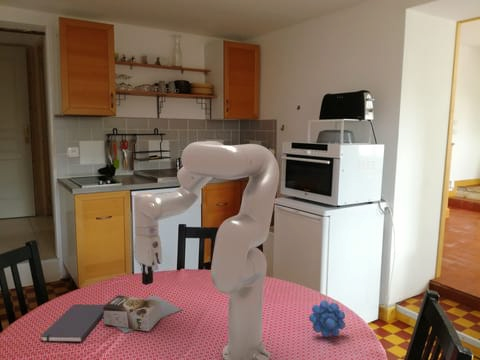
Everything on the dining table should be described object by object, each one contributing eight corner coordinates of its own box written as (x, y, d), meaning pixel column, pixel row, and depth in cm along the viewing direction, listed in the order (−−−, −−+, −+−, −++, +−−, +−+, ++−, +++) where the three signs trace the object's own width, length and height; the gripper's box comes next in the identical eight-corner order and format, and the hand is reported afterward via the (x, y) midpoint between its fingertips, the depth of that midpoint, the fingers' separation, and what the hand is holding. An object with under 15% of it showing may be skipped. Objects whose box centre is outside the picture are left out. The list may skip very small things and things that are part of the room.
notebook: (81, 342, 118) (109, 308, 139) (81, 337, 117) (108, 304, 138) (40, 341, 118) (73, 308, 139) (39, 336, 118) (73, 304, 139)
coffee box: (148, 312, 123) (102, 306, 127) (149, 332, 124) (103, 325, 128) (161, 299, 132) (117, 294, 135) (161, 318, 133) (118, 311, 136)
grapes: (312, 345, 119) (314, 307, 117) (306, 333, 125) (307, 297, 123) (349, 343, 120) (352, 306, 118) (341, 332, 126) (343, 296, 125)
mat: (181, 310, 139) (181, 309, 139) (125, 333, 123) (125, 332, 123) (155, 296, 150) (155, 295, 150) (100, 316, 134) (100, 314, 134)
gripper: (169, 232, 127) (170, 286, 130) (143, 223, 137) (144, 274, 140) (149, 237, 122) (150, 293, 124) (124, 227, 132) (125, 280, 135)
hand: (147, 283), depth 132 cm, fingers closed
